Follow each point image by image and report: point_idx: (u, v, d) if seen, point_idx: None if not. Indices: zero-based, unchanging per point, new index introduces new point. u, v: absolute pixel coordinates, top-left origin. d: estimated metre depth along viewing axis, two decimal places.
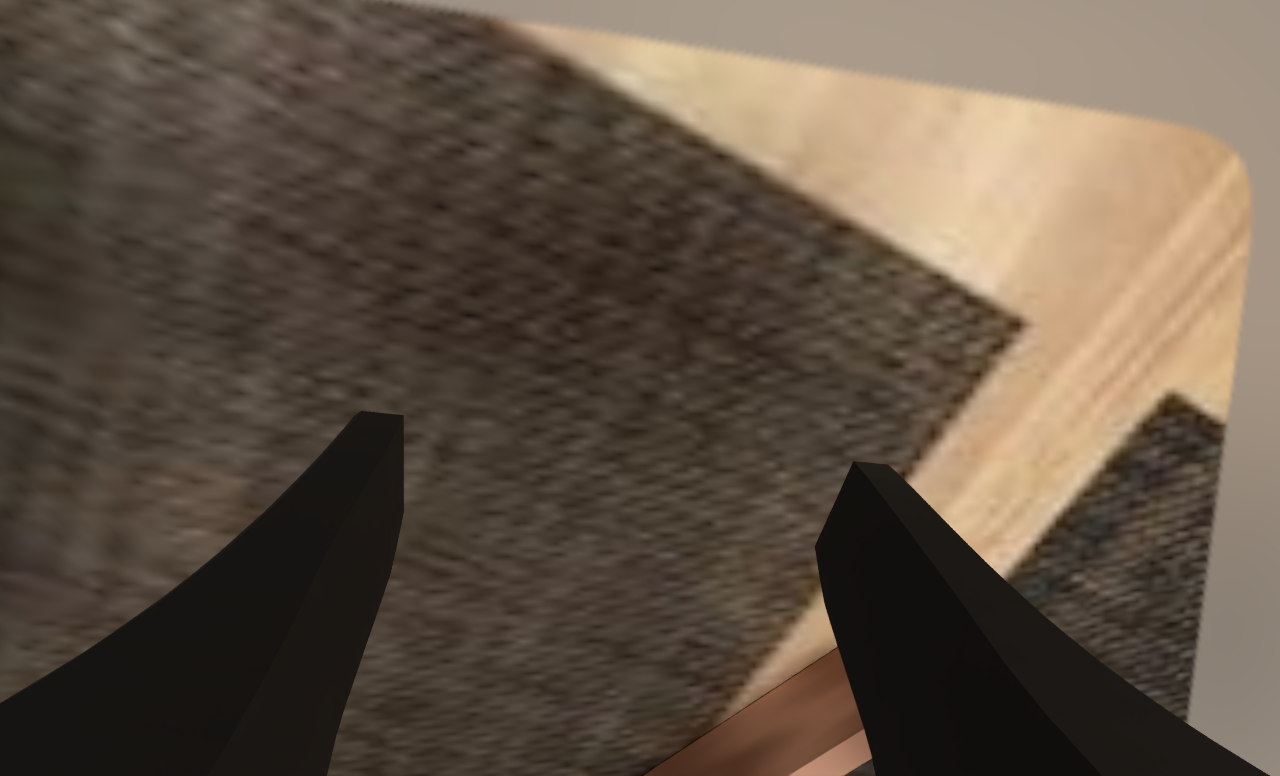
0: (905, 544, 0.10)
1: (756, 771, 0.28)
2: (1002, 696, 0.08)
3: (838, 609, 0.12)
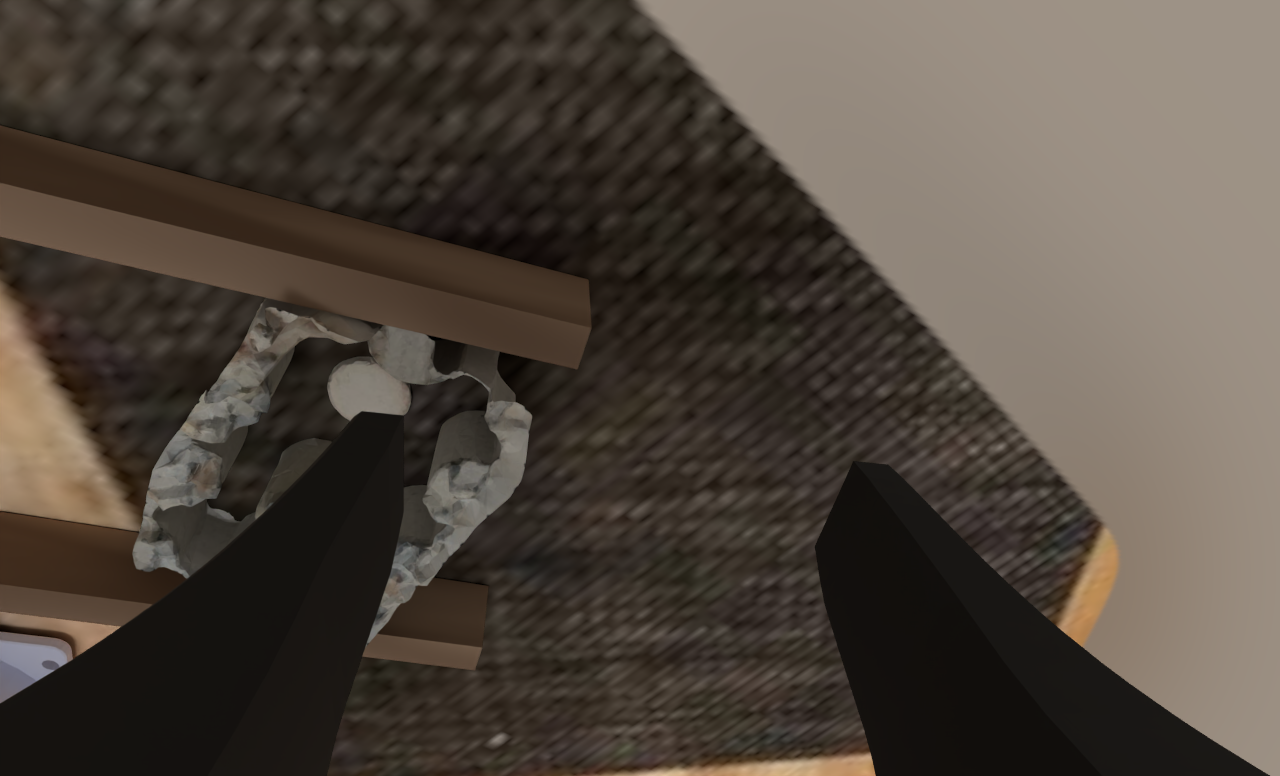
0: (905, 544, 0.10)
1: None
2: (1002, 696, 0.08)
3: (838, 609, 0.12)
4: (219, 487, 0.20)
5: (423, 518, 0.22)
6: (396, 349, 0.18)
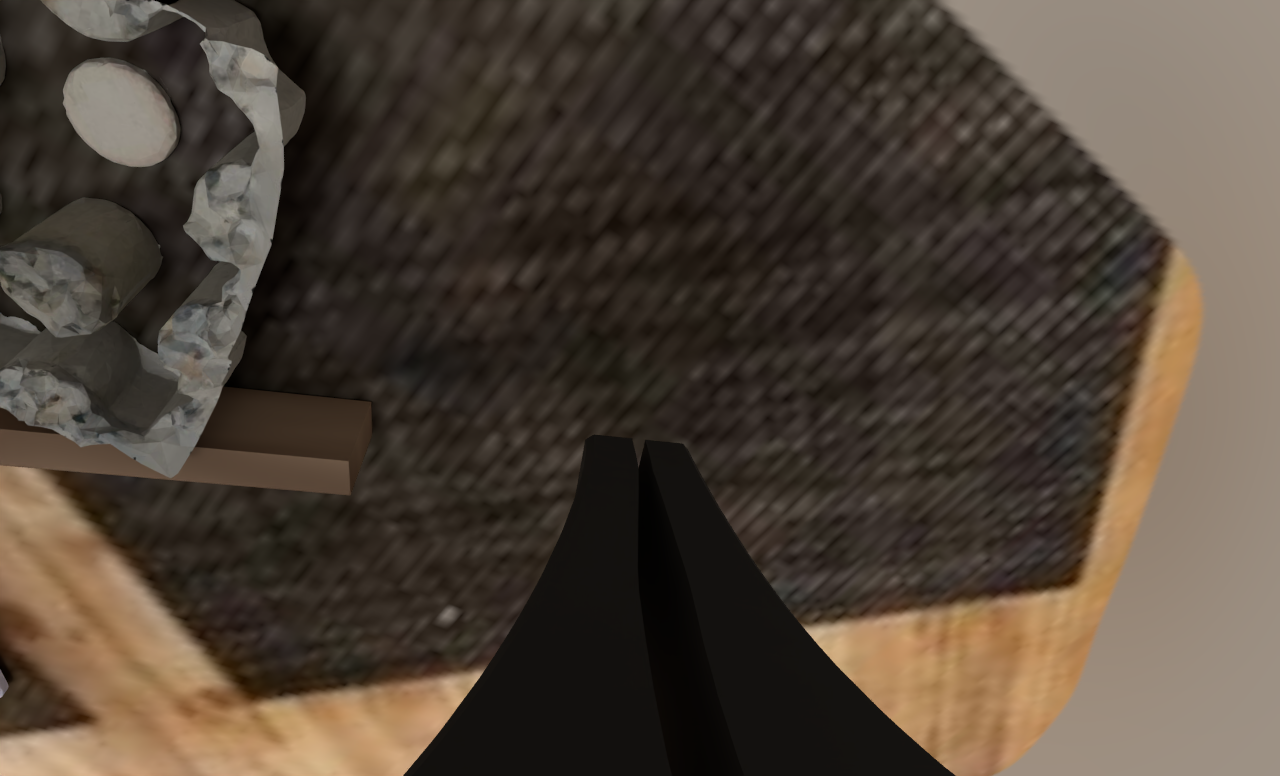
0: (664, 524, 0.10)
1: None
2: (700, 680, 0.08)
3: None
4: None
5: None
6: None
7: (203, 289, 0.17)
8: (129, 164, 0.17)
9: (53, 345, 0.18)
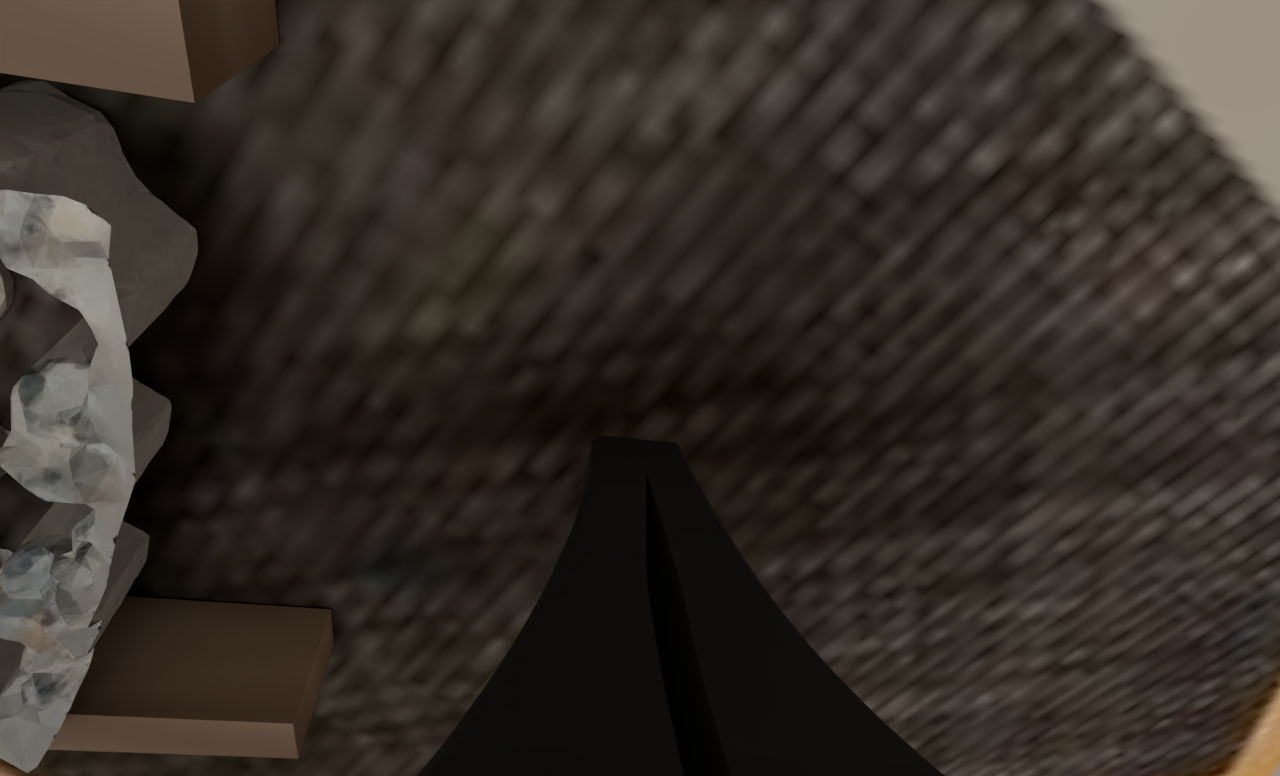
0: (656, 522, 0.10)
1: None
2: (690, 679, 0.08)
3: None
4: None
5: None
6: None
7: (59, 512, 0.12)
8: None
9: None
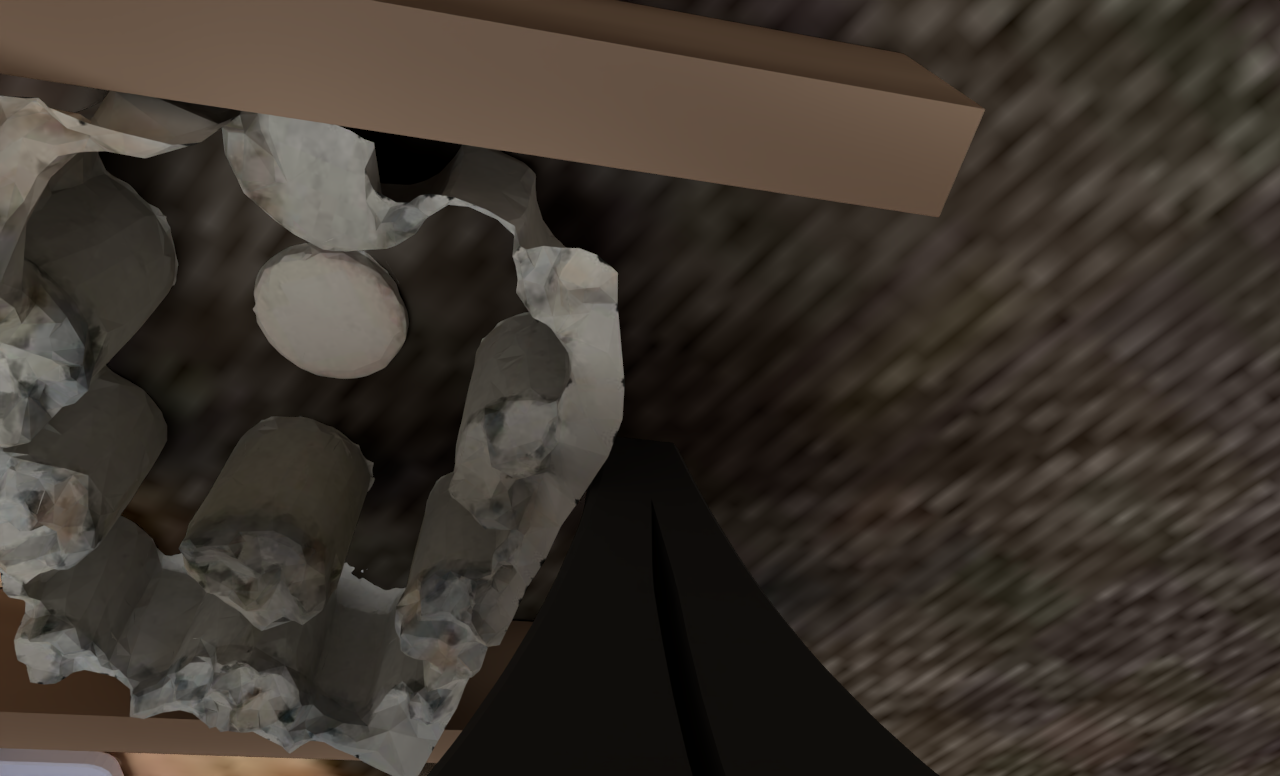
0: (652, 522, 0.10)
1: None
2: (685, 679, 0.08)
3: None
4: (91, 528, 0.11)
5: (477, 524, 0.12)
6: (299, 178, 0.08)
7: (446, 538, 0.12)
8: (339, 376, 0.12)
9: None
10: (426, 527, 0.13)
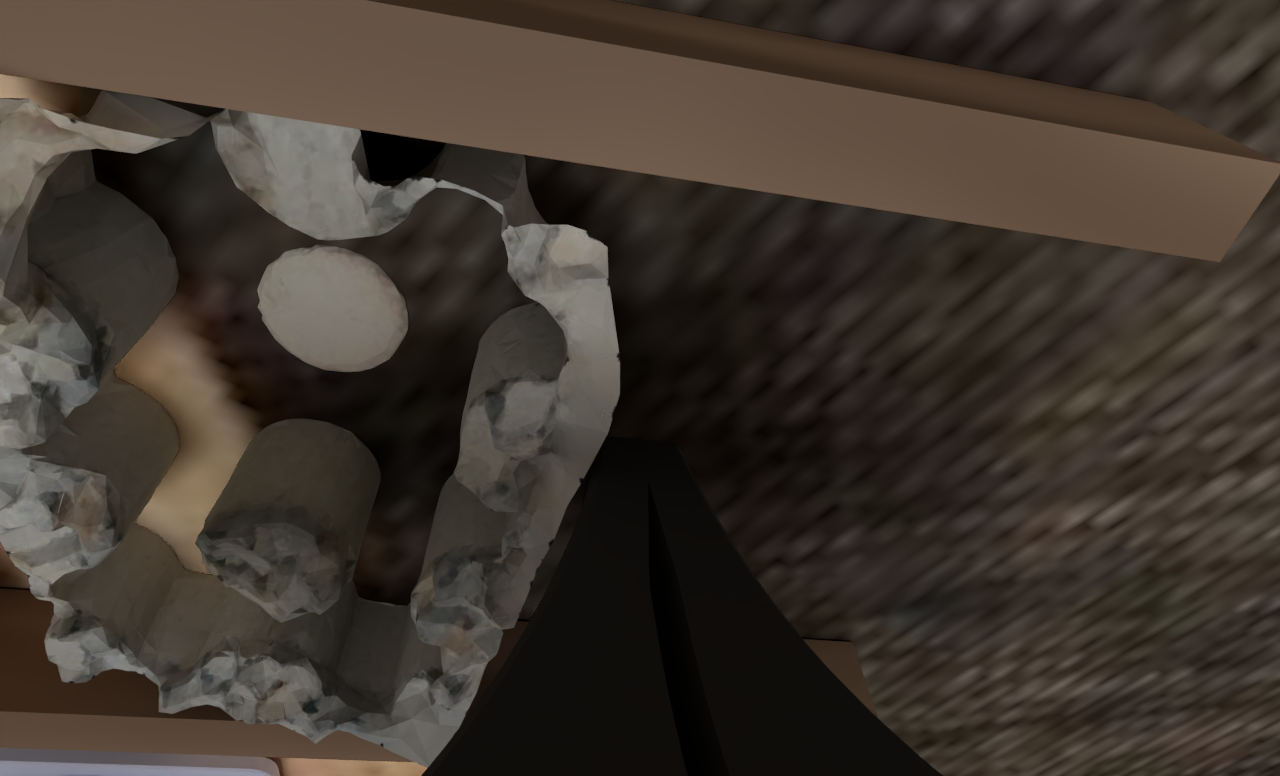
0: (655, 522, 0.10)
1: None
2: (688, 679, 0.08)
3: None
4: (110, 527, 0.11)
5: (488, 511, 0.13)
6: (290, 169, 0.08)
7: (458, 525, 0.12)
8: (345, 370, 0.12)
9: (263, 607, 0.14)
10: (438, 516, 0.13)
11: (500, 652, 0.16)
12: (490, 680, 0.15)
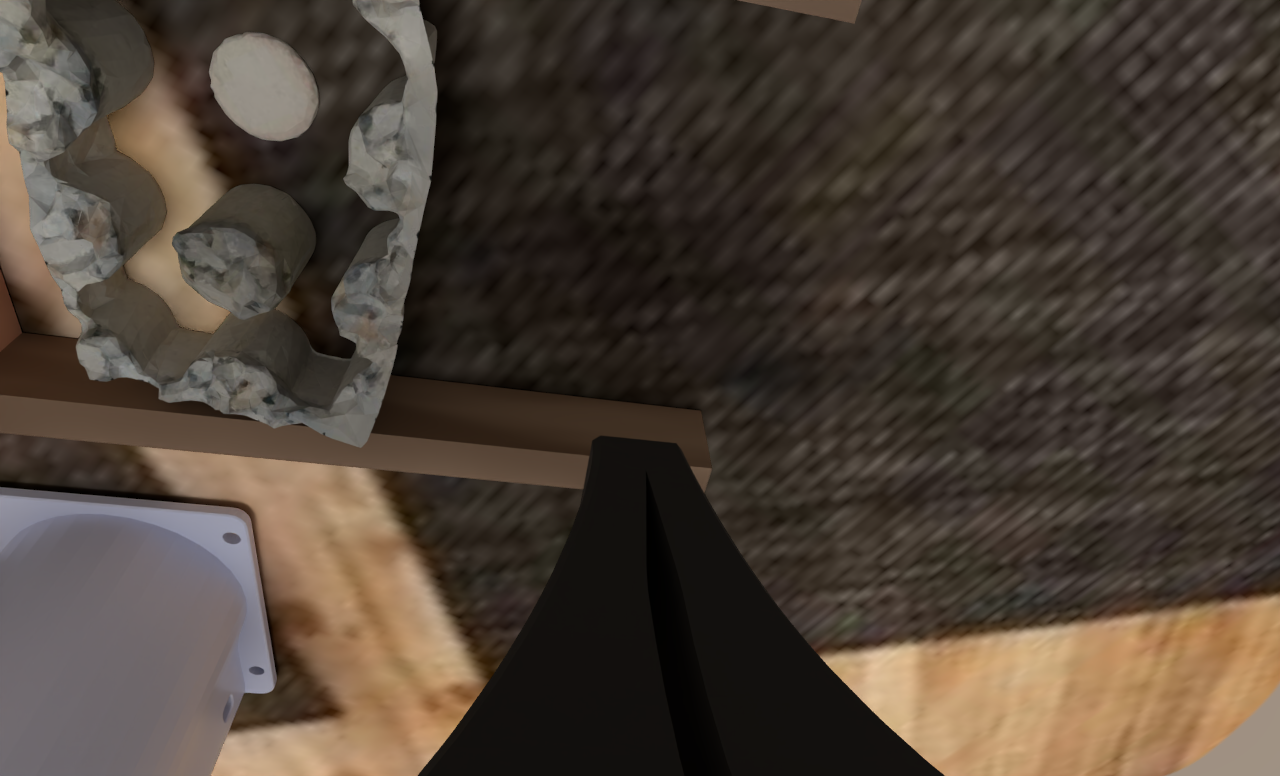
0: (656, 522, 0.10)
1: None
2: (690, 679, 0.08)
3: None
4: (114, 236, 0.16)
5: (386, 241, 0.17)
6: None
7: (365, 251, 0.17)
8: (278, 138, 0.17)
9: (233, 335, 0.18)
10: None
11: (418, 396, 0.20)
12: (407, 410, 0.20)
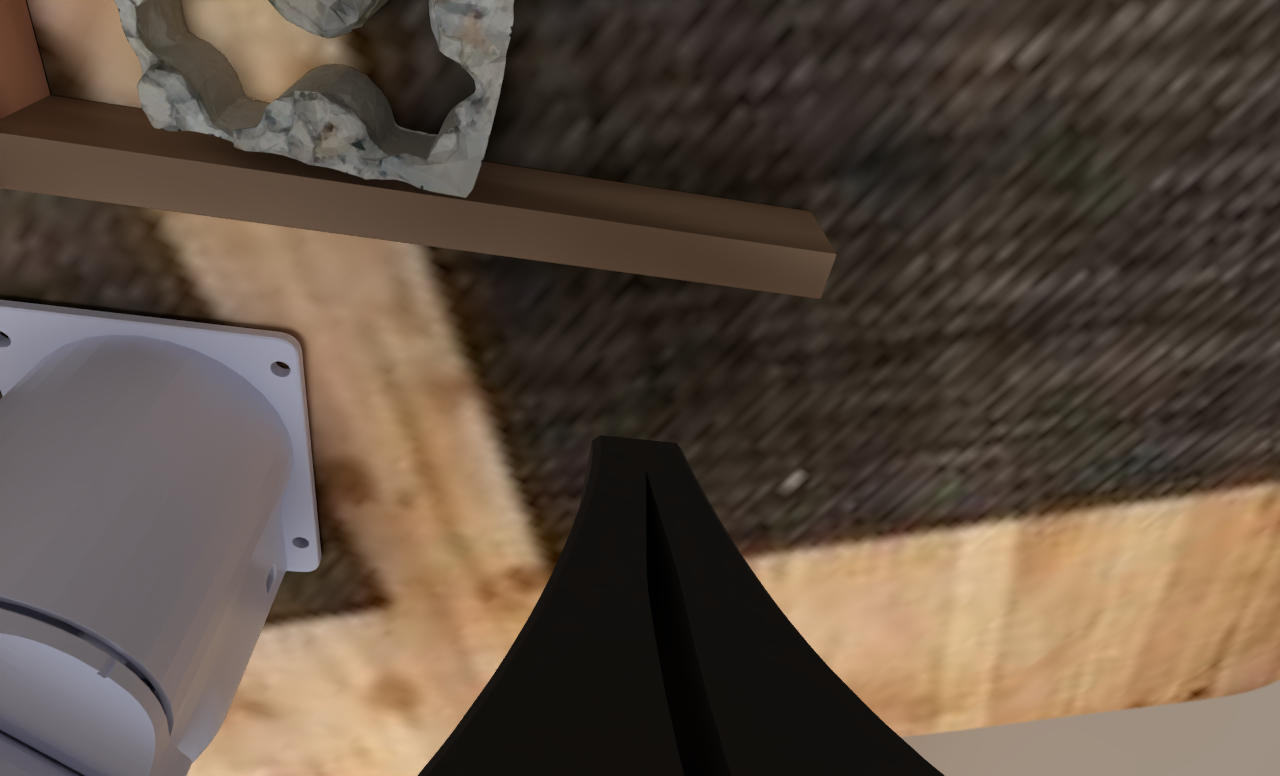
0: (656, 523, 0.10)
1: None
2: (690, 679, 0.08)
3: None
4: None
5: None
6: None
7: None
8: None
9: (312, 80, 0.16)
10: None
11: (500, 176, 0.18)
12: (491, 185, 0.17)
